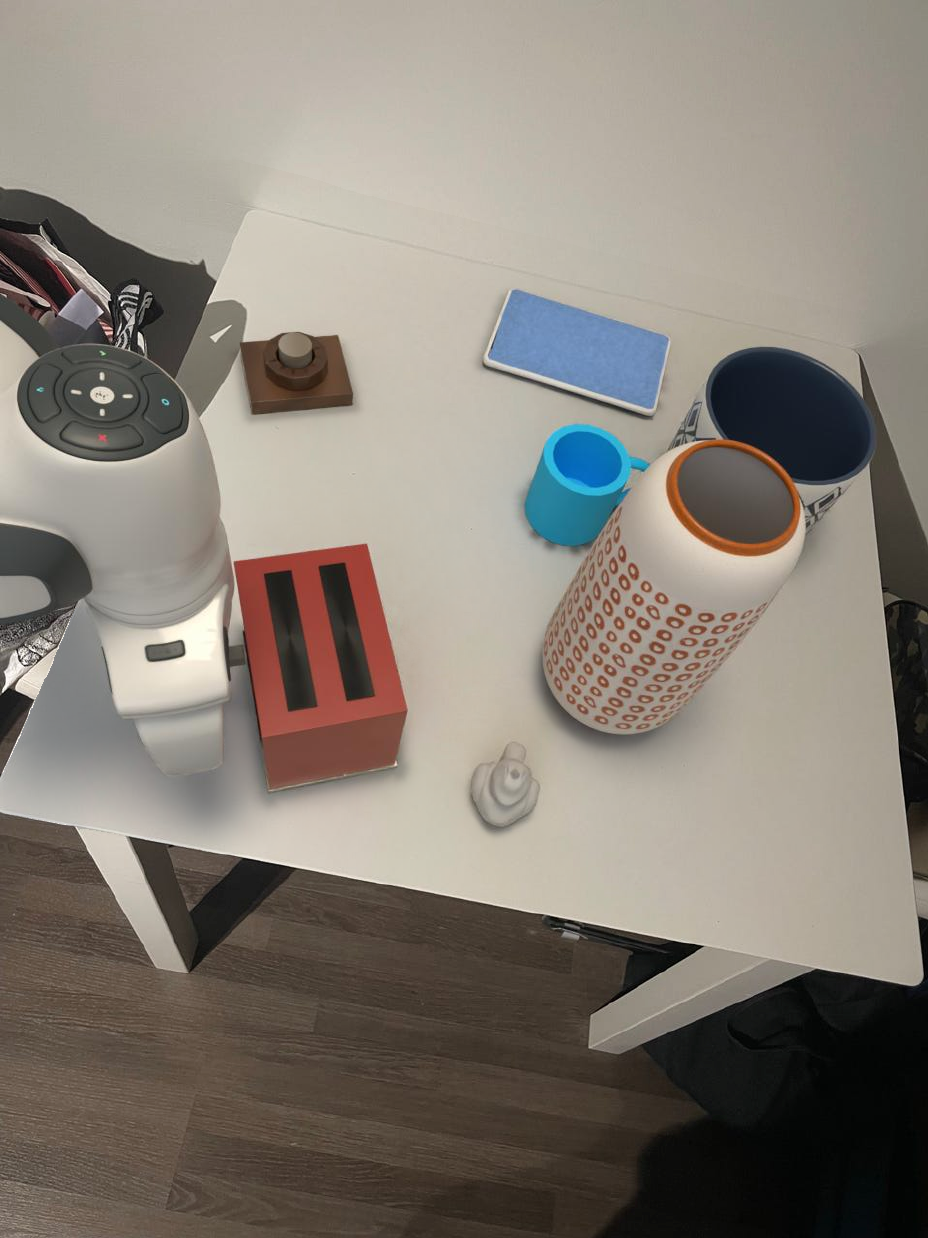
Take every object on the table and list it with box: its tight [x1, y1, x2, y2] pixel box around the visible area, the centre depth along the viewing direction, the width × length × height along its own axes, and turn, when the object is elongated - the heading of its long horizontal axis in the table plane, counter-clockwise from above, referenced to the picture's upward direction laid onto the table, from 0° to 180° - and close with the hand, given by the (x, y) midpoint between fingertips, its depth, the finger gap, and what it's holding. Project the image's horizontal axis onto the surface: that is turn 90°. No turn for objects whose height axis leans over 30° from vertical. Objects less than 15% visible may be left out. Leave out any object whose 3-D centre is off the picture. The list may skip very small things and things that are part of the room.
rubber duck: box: [470, 741, 541, 827], centre depth 67 cm, size 5×7×8 cm
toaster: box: [233, 543, 408, 794], centre depth 67 cm, size 10×14×12 cm
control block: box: [239, 331, 354, 415], centre depth 87 cm, size 10×8×4 cm
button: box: [278, 333, 312, 369], centre depth 85 cm, size 3×3×2 cm
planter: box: [665, 346, 877, 537], centre depth 82 cm, size 16×16×14 cm
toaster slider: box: [229, 644, 247, 668], centre depth 64 cm, size 5×2×3 cm, turn 105°
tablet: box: [482, 288, 672, 417], centre depth 95 cm, size 19×13×1 cm, turn 74°
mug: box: [524, 423, 651, 547], centre depth 82 cm, size 12×8×8 cm
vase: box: [541, 440, 806, 735], centre depth 65 cm, size 13×13×28 cm
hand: (187, 669), depth 65 cm, fingers closed on toaster slider, 2 cm apart
